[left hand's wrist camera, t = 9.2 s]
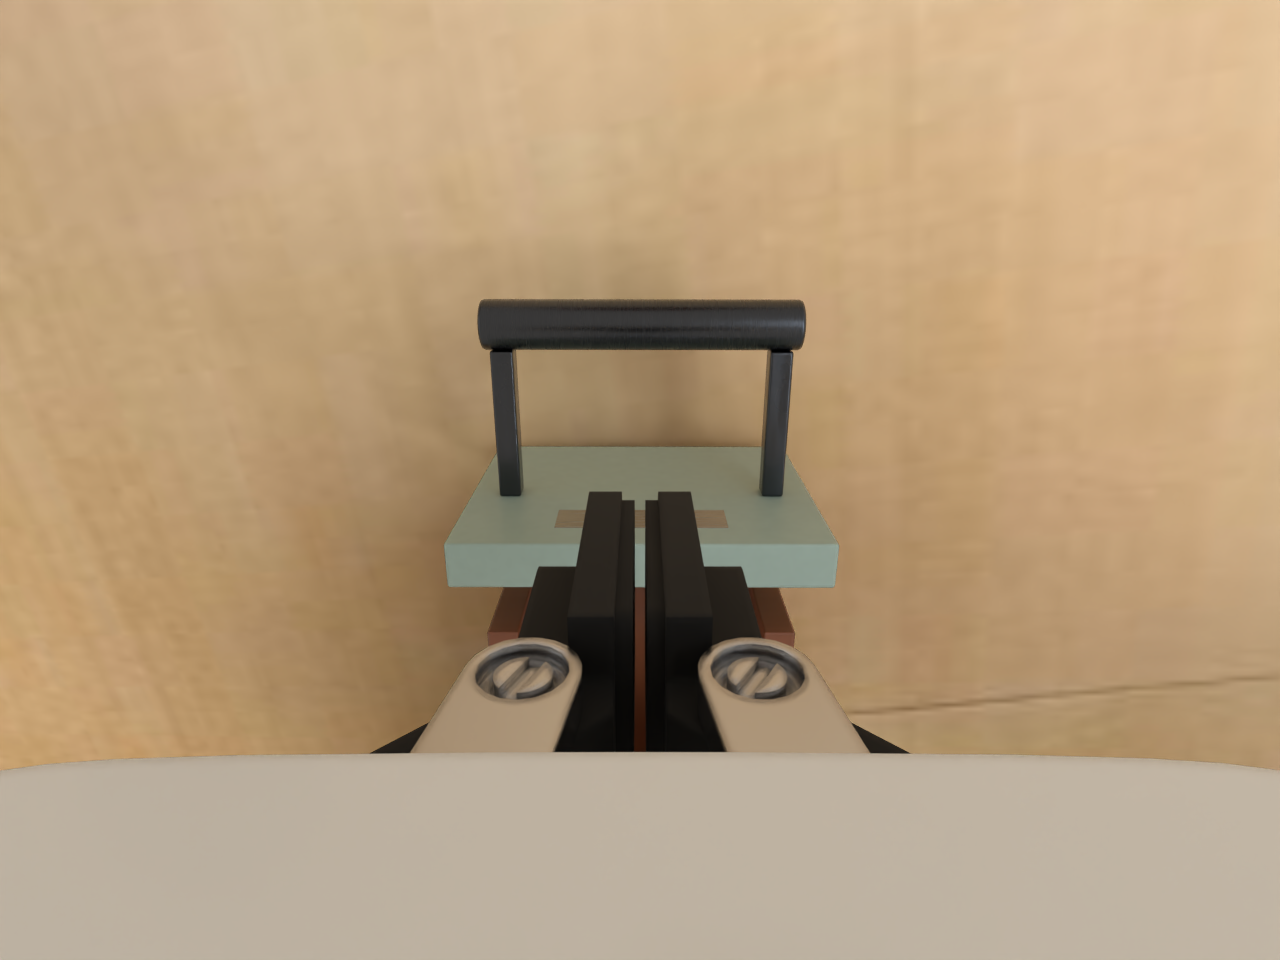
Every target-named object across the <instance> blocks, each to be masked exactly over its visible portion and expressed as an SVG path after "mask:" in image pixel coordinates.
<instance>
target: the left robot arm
mask: <svg viewBox="0 0 1280 960" xmlns="http://www.w3.org/2000/svg"><path fill="white" fill-rule="evenodd" d="M634 721H635V500H622V491H589V495H588V501H587V506H586V512H585V518H584V524H583V529H582V535H581V541H580V546H579V552H578V558H577V563H576V566H539V567H538V569H537V572H536V576H535V580H534V583H533V587H532V590H531V594H530V598H529V601H528V605H527V608H526V612H525V615H524V619H523V623H522V626H521V630H520V633H519V637H518V638H517V639H511V640H505V641H502V642H499V643H497V644H494V645H491V646H488V647H487V648H485V649H483V650H482V651H480V652H479V653H477V654H475V655H474V656H473V657H472V659H471V660H470V661H469V662H468V663H467V664H466V665H465V667H464V668H463V670H462V672H461V673H460V675H459V676H458V678H457V679H456V681H455V683H454V684H453V686H452V687H451V689H450V690H449V692H448V694H447V695H446V697H445V698H444V700H443V702H442V703H441V705H440V706H439V708H438V709H437V711H436V713H435V714H434V716H433V717H432V719H431V720H430V722H429V723H427V724H425V725H423V726H421V727H420V728H418V729H416V730H414V731H412V732H410V733H408V734H406V735H404V736H402V737H400V738H398V739H397V740H395V741H393V742H391V743H389V744H387V745H385V746H383V747H381V748H379V749H377V750H375V751H373V752H372V753H370V754H302V755H229V756H197V757H166V758H134V759H111V760H97V761H83V762H69V763H56V764H45V765H37V766H30V767H23V768H15V769H8V770H1V771H0V960H1280V771H1279V770H1274V769H1266V768H1258V767H1250V766H1242V765H1234V764H1225V763H1213V762H1198V761H1182V760H1166V759H1151V758H1117V757H1080V756H1044V755H995V754H910V753H908V752H907V751H905V750H903V749H901V748H899V747H897V746H895V745H893V744H891V743H889V742H887V741H885V740H883V739H882V738H880V737H878V736H876V735H874V734H872V733H870V732H868V731H866V730H864V729H862V728H860V727H859V726H857V725H855V724H853V723H851V722H850V720H849V719H848V717H847V716H846V714H845V713H844V711H843V709H842V708H841V706H840V705H839V703H838V702H837V700H836V698H835V697H834V695H833V694H832V692H831V690H830V689H829V687H828V686H827V684H826V683H825V681H824V679H823V678H822V676H821V675H820V673H819V672H818V670H817V668H816V667H815V665H814V664H813V663H812V662H811V661H810V660H809V659H808V657H807V656H806V655H805V654H803V653H801V652H800V651H798V650H797V649H795V648H793V647H792V646H789V645H786V644H783V643H781V642H778V641H775V640H769V639H763V638H762V637H761V633H760V630H759V626H758V623H757V619H756V615H755V612H754V608H753V605H752V601H751V598H750V594H749V590H748V587H747V583H746V580H745V576H744V572H743V569H742V567H741V566H704V563H703V558H702V552H701V546H700V541H699V535H698V529H697V524H696V518H695V512H694V506H693V501H692V495H691V491H658V500H645V721H646V752H634Z"/></svg>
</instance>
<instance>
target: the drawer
mask: <svg viewBox="0 0 1280 960" xmlns="http://www.w3.org/2000/svg"><path fill="white" fill-rule="evenodd" d="M477 324H478V335H479V340H480V343H481V346H482V348H484V349H486V350H492V351H491V352H490V362H491V376H492V391H493V405H494V419H495V433H496V447H497V453H496V455H495V456H494V458H493V460H492V462H491V463H490V465H489V467H488V469H487V470H486V472H485V474H484V476H483V477H482V479H481V481H480V482H479V484H478V486H477V488H476V489H475V491H474V493H473V495H472V496H471V498H470V500H469V502H468V503H467V505H466V507H465V509H464V510H463V512H462V514H461V516H460V517H459V519H458V521H457V523H456V524H455V526H454V528H453V529H452V531H451V533H450V535H449V536H448V538H447V540H446V542H445V543H444V552H445V562H446V572H447V582H448V586H449V587H504V588H503V591H502V593H501V596H500V599H499V602H498V605H497V607H496V610H495V613H494V616H493V619H492V622H491V624H490V627H489V630H488V633H487V634H488V646H491V645H494V644H497V643H499V642H502V641H505V640H511V639H517V638H518V637H519V633H520V630H521V626H522V623H523V619H524V615H525V612H526V608H527V605H528V601H529V598H530V594H531V590H532V587H533V583H534V580H535V576H536V572H537V569H538V567H539V566H576V563H577V558H578V552H579V546H580V541H581V535H582V529H583V524H584V518H585V512H586V506H587V501H588V495H589V491H622V500H635V721H634V752H646V721H645V500H658V491H691V495H692V501H693V506H694V512H695V518H696V524H697V529H698V535H699V541H700V546H701V552H702V558H703V563H704V566H741V567H742V569H743V572H744V576H745V580H746V583H747V587H748V590H749V594H750V598H751V601H752V605H753V608H754V612H755V615H756V619H757V623H758V626H759V630H760V633H761V637H762V638H763V639H769V640H775V641H778V642H781V643H783V644H786V645H789V646H792V647H793V648H794V639H795V632H794V630H793V627H792V624H791V621H790V618H789V616H788V613H787V610H786V607H785V604H784V602H783V599H782V596H781V593H780V590H779V588H833V587H834V586H835V580H836V571H837V561H838V552H839V544H838V542H837V541H836V539H835V537H834V536H833V534H832V532H831V530H830V529H829V527H828V525H827V523H826V522H825V520H824V518H823V516H822V515H821V513H820V511H819V510H818V508H817V506H816V504H815V503H814V501H813V499H812V497H811V496H810V494H809V492H808V491H807V489H806V487H805V485H804V484H803V482H802V480H801V478H800V477H799V475H798V473H797V472H796V470H795V468H794V466H793V465H792V463H791V461H790V459H789V458H788V456H787V454H786V446H787V433H788V419H789V406H790V393H791V379H792V366H793V352H792V351H791V350H799V349H801V347H802V345H803V342H804V338H805V332H806V310H805V306H804V303H803V301H801V300H596V299H484V300H482V301H481V302H480V304H479V308H478V317H477ZM516 350H768V351H767V367H766V383H765V399H764V415H763V431H762V447H521V430H520V413H519V395H518V378H517V361H516Z"/></svg>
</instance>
